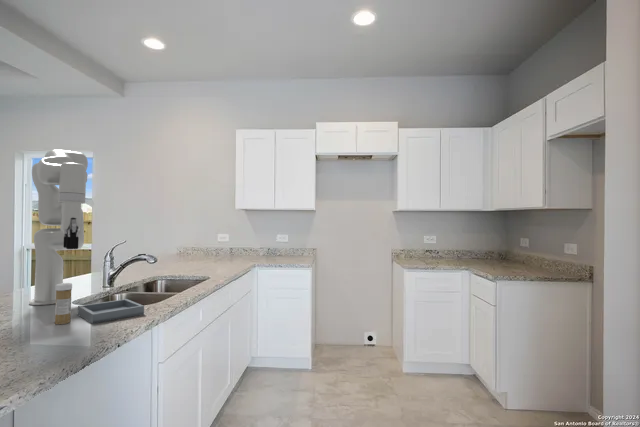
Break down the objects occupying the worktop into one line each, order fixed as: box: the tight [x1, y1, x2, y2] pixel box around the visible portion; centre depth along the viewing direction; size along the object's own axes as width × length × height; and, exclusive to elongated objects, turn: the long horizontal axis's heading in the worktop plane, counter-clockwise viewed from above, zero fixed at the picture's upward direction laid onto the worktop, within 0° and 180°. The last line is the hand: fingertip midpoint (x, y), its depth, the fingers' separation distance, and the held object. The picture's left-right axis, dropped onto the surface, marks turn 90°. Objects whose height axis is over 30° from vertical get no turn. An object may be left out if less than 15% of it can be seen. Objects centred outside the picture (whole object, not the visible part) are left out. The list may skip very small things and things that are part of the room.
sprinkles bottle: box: [54, 282, 73, 325], centre depth 119 cm, size 5×5×14 cm
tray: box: [77, 298, 145, 324], centre depth 130 cm, size 17×17×3 cm
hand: (70, 248), depth 119 cm, fingers open, 9 cm apart
